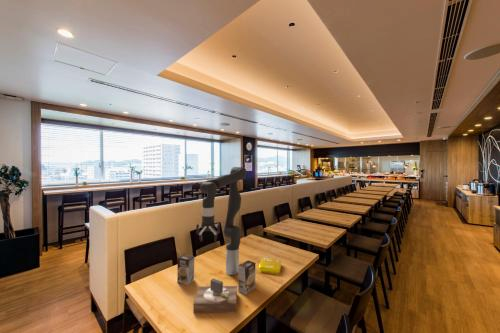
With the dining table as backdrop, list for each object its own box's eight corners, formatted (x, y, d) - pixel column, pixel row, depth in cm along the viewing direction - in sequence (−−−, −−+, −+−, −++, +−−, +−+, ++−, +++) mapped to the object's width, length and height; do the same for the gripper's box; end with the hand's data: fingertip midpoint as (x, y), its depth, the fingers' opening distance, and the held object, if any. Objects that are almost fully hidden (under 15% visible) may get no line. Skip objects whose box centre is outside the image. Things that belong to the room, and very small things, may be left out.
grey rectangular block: (209, 293, 116) (209, 281, 116) (214, 289, 119) (214, 277, 119) (224, 299, 111) (224, 286, 111) (228, 295, 115) (228, 282, 114)
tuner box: (199, 294, 123) (199, 285, 123) (236, 294, 124) (236, 285, 124) (193, 313, 108) (193, 302, 108) (235, 312, 109) (235, 302, 109)
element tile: (258, 272, 150) (258, 265, 150) (262, 262, 164) (262, 256, 164) (279, 275, 146) (279, 268, 146) (281, 265, 161) (281, 259, 160)
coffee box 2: (245, 295, 123) (246, 268, 123) (237, 291, 127) (238, 265, 127) (255, 288, 130) (255, 262, 130) (247, 284, 134) (247, 259, 134)
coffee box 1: (176, 282, 136) (176, 257, 136) (183, 277, 142) (183, 253, 142) (188, 285, 133) (188, 260, 133) (194, 280, 139) (194, 255, 139)
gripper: (220, 212, 132) (220, 238, 132) (197, 212, 132) (197, 238, 132) (219, 215, 125) (219, 243, 125) (195, 215, 124) (195, 243, 124)
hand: (208, 240), depth 128 cm, fingers open, 8 cm apart
